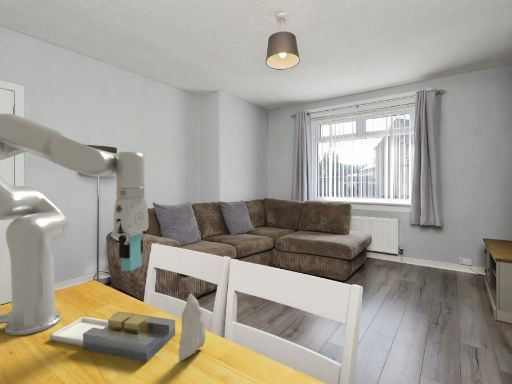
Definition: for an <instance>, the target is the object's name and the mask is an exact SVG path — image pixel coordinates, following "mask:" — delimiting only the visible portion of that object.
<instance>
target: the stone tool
mask: <svg viewBox="0 0 512 384" xmlns="http://www.w3.org/2000/svg"><path fill="white" fill-rule="evenodd" d="M186 299H187V300H186V304H185V307H184V309H183V311H182V313H181V333H180V338H179V348H178V359H179V362H181V361H183V360H185V359H186V358H190V357H191V356H192V355H193V354H195V353H196V351H197V350H198V349H200V348H201V347H203V346H204V344H205V342H206V327H205V326H206V325H205V317H204V314H203V309H202V308H201V307H200V304H199V300H198V299H197V298H196V297H195V296H194V295H193V294H192V293H189V295H188V297H187V298H186Z"/></svg>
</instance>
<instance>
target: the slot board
mask: <svg viewBox="0 0 512 384" xmlns="http://www.w3.org/2000/svg"><path fill="white" fill-rule="evenodd" d="M118 313H125V314H132V317H133V316H134V315H139V316H145V317H148V333H146V334H145V335H144V336H140V335H134V334H128V333H123V332H117V331H111V330H108V326H107V327H105V328H103V329H99V328H94V327H93V328H91V329H90V330H88V331H86V332H85V333H83V347H82V349H83V351H88V352H92V353H97V354H103V355H106V356H107V355H109V356H111V357H117V358H121V359H122V358H123V359H127V360H128V359H129V360H133V361H138V362H144V363H149V361H150V360H151V359H152V358H153V357H154V356H155V355H156V354H157V353H158V352H159V351H160V350H161V349H162V348H163V347H164V346H166V345H167V343H168V342H170V340H172V339H173V337H175V335H176V319H172V318H165V317H158V316H151V315H144V314H140V313H139V314H138V313H133V312H132V313H131V312H125V311H118V312H116V313H114V314H112V315H111V316H110V318H112V317H113V316H115V315H117V314H118Z"/></svg>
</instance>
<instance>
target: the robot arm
mask: <svg viewBox="0 0 512 384" xmlns="http://www.w3.org/2000/svg"><path fill="white" fill-rule="evenodd" d="M24 153H29V154H33V155H34V156H38V157H40V158H43V159H45V160H47V161H48V162H52V163H54V164H55V165H58V166H60V167H62V168H65V169H68V170H71V171H74V172H77V173H79V174H81V175H85V176H88V177H98V178H99V177H100V178H111V177H115V178H116V183H115V184H116V185H115V186H116V188H115V190H116V192H115V194H116V200H115V204H114V212H113V229H112V232H111V235H110V236H111V237H112V238H113V239H115V241H116V243H117V245H118V248H119V249H118V250H119V252H118V255H119V258H120V259H121V258H127V259H128V258H130V244H128V242H129V234H134V233H138V232H141V254H143V253H144V241H143V240H144V239H145V237H144V236H145V235H146V232H147V230H148V229H149V226H150V225H149V224H150V223H149V210H148V209H149V208H148V202H147V199H146V197H145V194H146V193H145V157H144V155H143V154H142V153H141V152H137V151H119V152H118V153H115V152H111V151H106V150H102V149H98V148H95V147H92V146H89V145H87V144H84V143H81V142H79V141H77V140H73V139H71V138H69V137H66V136H64V134H63V133H62V132H61V131H58V130H56V129H54V128H51V127H48V126H45V125H43V124H40V123H38V122H36V121H35V120H31V119H29V118H27V117H26V118H25V117H23V116H20V115H17V114H13V113H0V161H2V160H6V159H9V158H11V157H15V156H18V155H21V154H24ZM8 220H9V221H10V220H12V221H11V222H10V223H9V224H8V226H7V227H6V231H5V240H6V241H5V242H6V244H7V248H8V252H9V256H10V257H9V259H10V260H9V261H10V274H11V278H10V281H11V311H8V312H7V313H0V325H1V324H6V325H5V326H4V333H5V334H7V335H9V336H25V335H31V334H36V333H38V332H42V331H44V330H46V329H50V328H51V327H53V326H54V325H56V324H58V323H59V322H60V321H61V319H62V312H61V311H58V310H56V307H55V305H56V303H55V301H56V300H55V299H56V298H55V295H56V294H55V293H56V292H55V259H54V253H53V251H52V249H51V247H50V243H53V242H56V241H58V240H61V239H62V238H63V237H65V236H66V235H67V234H68V232H69V230H70V223H69V220H68V218H67V217H66V215H65V214H64V212H63V211H61V210H60V209H59V208H58V206H56V205H55V204H54V203H53V202H52V201H51V200H49V198H47V196H46V195H44V193H42V191H41V192H40V191H39V190H38V189H35V188H34V187H31V186H27V185H26V186H25V185H12V184H10V183H8V182H7V181H6V180H5V179H3V178H2V177H1V176H0V221H8ZM122 235H123V236H125V239H124V238H123V236H122Z"/></svg>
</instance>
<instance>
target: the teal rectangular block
mask: <svg viewBox="0 0 512 384" xmlns="http://www.w3.org/2000/svg"><path fill="white" fill-rule="evenodd" d="M122 236H123V235H122ZM123 238H124V239H125V236H123ZM128 244H130V258H128V259H127V258H120V264H121V271H126V272H131V271H134V270H136V269H138V268H140V267H142V265H143V264H142V253H141V232H138V233H134V234H129V242H128Z"/></svg>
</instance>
